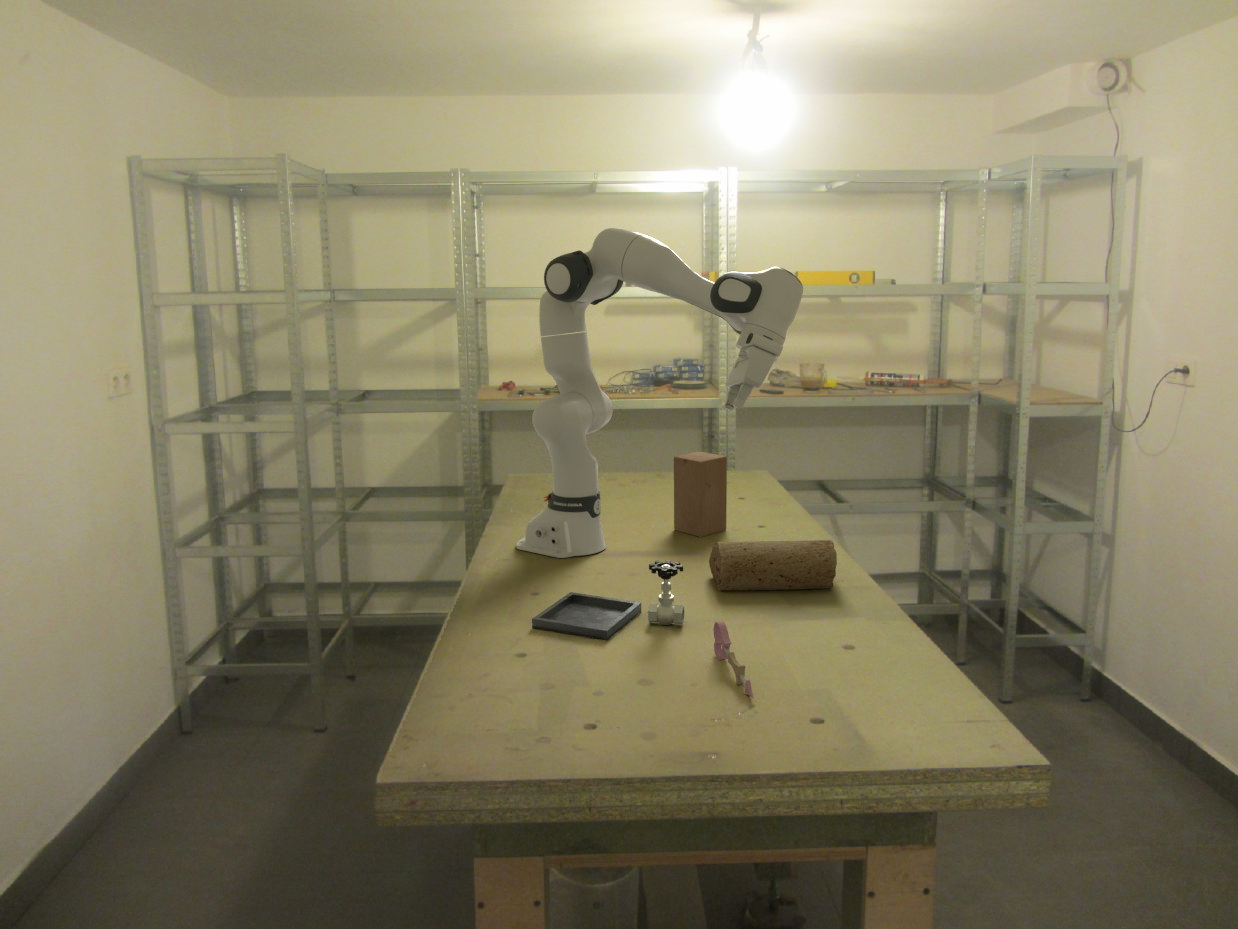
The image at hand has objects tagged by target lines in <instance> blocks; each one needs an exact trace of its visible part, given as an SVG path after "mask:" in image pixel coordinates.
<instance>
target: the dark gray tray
mask: <svg viewBox="0 0 1238 929" xmlns="http://www.w3.org/2000/svg"><path fill="white" fill-rule="evenodd" d="M640 613H642V602H641V601H640V602H639V601H635V600H633V601H632V600H627V599H619V598H613V597H606V596H599V595H592V594H585V593H579V592H573V591H570V592H568V593H567V594H566V595H565V596H562V597H561V598H560V599H558V600H557V601H556V602H553V604H552V605H550V606H548V607H547V608H545V609H544V610H542V611H541V612H540V613H538V614H537V615H535V616H534V617H532V618H531V628H532V629H533V630H538V631H543V632H544V631H546V632H550V633H555V634H556V633H558V634H562V635H569V636H575V637H581V638H588V639H592V640H598V641H605V642H608V641H610V639H612V638H613V637H614V636H615V635H616V634H618V633H619V632H620V631H621V630H622V629H624V627H626V626H627V624H629V623H630V622H631V621H633V620H634V619H635V618H636V617H637V616H638V615H639V614H640Z"/></svg>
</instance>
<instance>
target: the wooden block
mask: <svg viewBox="0 0 1238 929" xmlns="http://www.w3.org/2000/svg"><path fill="white" fill-rule="evenodd" d="M727 461H728V458H727V456H726V455H723V454H722V455H721V454H715V453H710V452H705V451H696V452H690V453H684V454H680V455H675V456H674V457H673V529H674V530H675V531H677V532H680V533H684V534H688V535H691V536H695V537H699V538H703V537H705V536H710V535H713V534H716V533H720V532H723V531H727V506H728V505H727V501H728V500H727V493H728V492H727V491H728V490H727V487H728V486H727V484H728V483H727V482H728V481H727V478H728V477H727V475H728V470H727V469H728V467H727V466H728V465H727V464H728V462H727Z"/></svg>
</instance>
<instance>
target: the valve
mask: <svg viewBox="0 0 1238 929" xmlns="http://www.w3.org/2000/svg"><path fill="white" fill-rule="evenodd" d="M648 570H649V571H651V574H653V575H654V574H657V576H658V577H659V578H661V580H662V582H661V583H660V590H661V591H662V592H661V594H658V596H657V597H658V600H657V601H658V602H659V604H658V603H649V605H648V610H647V621H648V623H655V624H656V623H658V624H661V625H664V626H668V625H669V626H670V625H673V624H675V625H683V624H684V622H685V621H684V620H685V606H684V605H681V604H678V605H676V604H675V605H674V604H673V603H674V601H675V596H674V595H673V594H672V593H671V590H672V583H671V582H670V580H671V579H672V577H675V576H677V575H678V573H679V572H681V573H682V572H683V571H684V565H682V564H681V561H675V562H672V560H670V559H665V560H664V561H662V562H661V561H660V560H655V561H654V563H649V564H648Z"/></svg>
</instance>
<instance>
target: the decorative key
mask: <svg viewBox="0 0 1238 929" xmlns="http://www.w3.org/2000/svg"><path fill="white" fill-rule="evenodd" d="M713 638H714V643H713V648H714V649H713V650H714V655H715V657H716V659H717V660H718V661H725V660H727V664H729V665H730V666H731V667H732V670H733V672H734V674H735V680H736V682H735V683H736V686H737V685H738V686H741V685H743V687H744V695H747V696H749V697H751V698H752V699H754V694H753V689H752V683H751V680H750V679H746V677H745V676H746V675H745V674H746V665H745V664H740V663H739V662H738V660H737V658H736V654H735V653H734V651H730V648H731V645H732V642H731V639H730V635H729V631H728V628H727V625H726V623H725V621H714V624H713Z"/></svg>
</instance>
